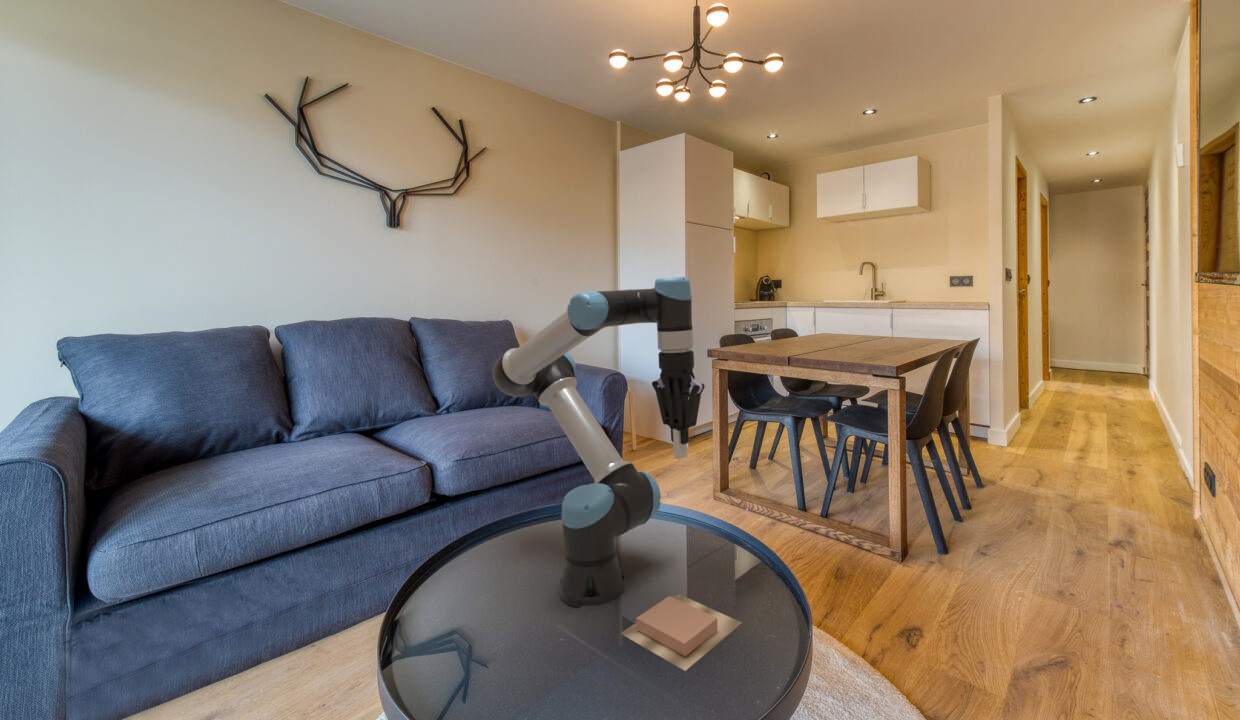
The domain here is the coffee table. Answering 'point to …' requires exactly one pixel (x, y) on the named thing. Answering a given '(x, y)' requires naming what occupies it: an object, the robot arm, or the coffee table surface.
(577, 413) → the robot arm
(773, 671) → the coffee table surface
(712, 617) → the terracotta tile
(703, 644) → the oak board
